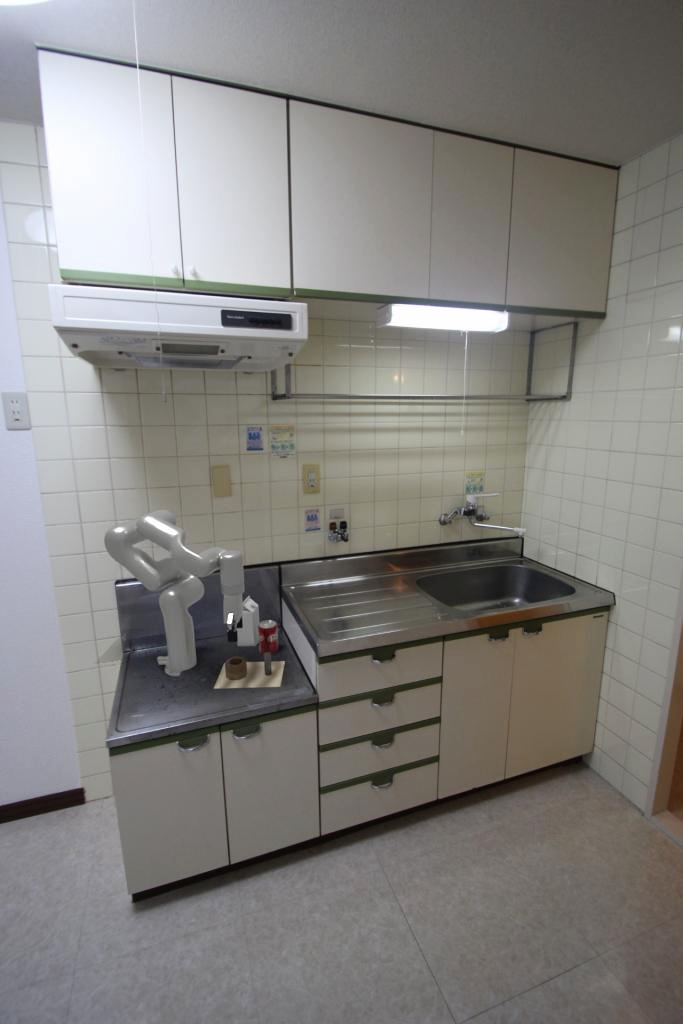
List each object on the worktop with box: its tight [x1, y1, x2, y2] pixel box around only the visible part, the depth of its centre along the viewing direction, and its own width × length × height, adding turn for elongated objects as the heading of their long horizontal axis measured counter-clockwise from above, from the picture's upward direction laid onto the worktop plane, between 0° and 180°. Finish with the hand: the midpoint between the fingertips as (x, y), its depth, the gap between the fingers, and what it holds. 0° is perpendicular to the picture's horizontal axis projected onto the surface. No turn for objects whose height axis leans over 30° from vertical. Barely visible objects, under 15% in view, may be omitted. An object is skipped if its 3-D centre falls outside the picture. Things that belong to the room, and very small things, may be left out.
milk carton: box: [236, 595, 261, 647], centre depth 185 cm, size 7×7×19 cm
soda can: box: [258, 619, 279, 655], centre depth 178 cm, size 7×7×12 cm
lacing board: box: [213, 652, 286, 690], centre depth 161 cm, size 22×16×9 cm
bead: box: [224, 656, 247, 680], centre depth 161 cm, size 7×7×5 cm
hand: (235, 634), depth 159 cm, fingers open, 9 cm apart
